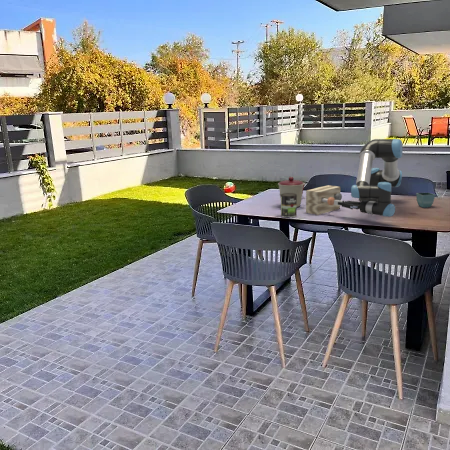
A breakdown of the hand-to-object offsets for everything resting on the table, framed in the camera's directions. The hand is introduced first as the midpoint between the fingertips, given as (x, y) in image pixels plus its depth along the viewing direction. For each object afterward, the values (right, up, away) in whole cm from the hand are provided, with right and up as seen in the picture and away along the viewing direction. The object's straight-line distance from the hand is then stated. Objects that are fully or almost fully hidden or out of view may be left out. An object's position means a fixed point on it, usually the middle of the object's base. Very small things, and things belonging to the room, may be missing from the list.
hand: (334, 202), depth 287 cm
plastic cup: (-13, +6, +61) cm, 63 cm away
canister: (-23, -2, +33) cm, 40 cm away
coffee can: (-28, -9, +6) cm, 30 cm away
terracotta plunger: (-5, -1, +7) cm, 8 cm away
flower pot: (+64, -3, +18) cm, 67 cm away
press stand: (-4, -5, +17) cm, 18 cm away
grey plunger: (+3, +2, +19) cm, 19 cm away
